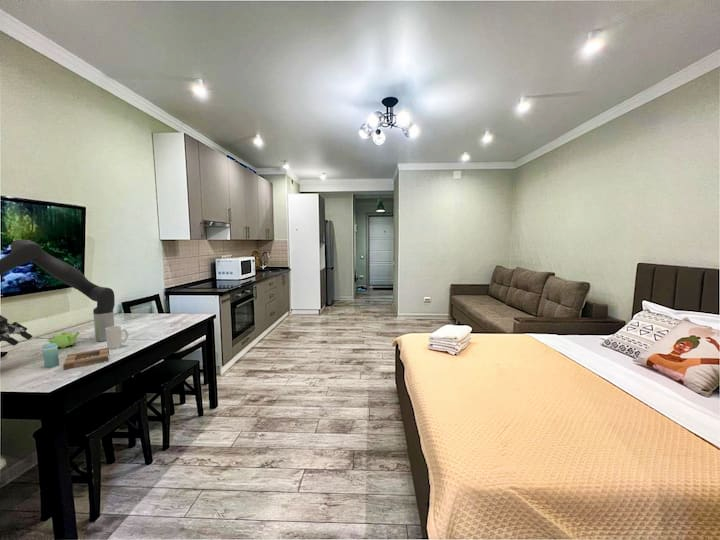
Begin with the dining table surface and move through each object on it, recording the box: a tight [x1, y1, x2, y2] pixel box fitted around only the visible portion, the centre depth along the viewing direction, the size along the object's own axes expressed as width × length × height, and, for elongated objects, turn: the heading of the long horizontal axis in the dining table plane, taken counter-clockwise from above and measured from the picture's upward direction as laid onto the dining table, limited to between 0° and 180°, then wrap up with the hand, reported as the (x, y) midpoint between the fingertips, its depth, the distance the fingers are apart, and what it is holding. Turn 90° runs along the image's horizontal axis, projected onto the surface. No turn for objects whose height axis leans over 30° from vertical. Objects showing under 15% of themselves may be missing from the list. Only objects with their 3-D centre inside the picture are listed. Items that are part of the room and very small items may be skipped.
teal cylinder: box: [42, 342, 60, 369], centre depth 138 cm, size 5×5×11 cm
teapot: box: [47, 331, 80, 349], centre depth 164 cm, size 11×12×8 cm
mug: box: [106, 325, 129, 350], centre depth 164 cm, size 10×7×12 cm, turn 114°
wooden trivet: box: [62, 347, 110, 371], centre depth 146 cm, size 16×16×2 cm
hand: (23, 340), depth 135 cm, fingers open, 8 cm apart
